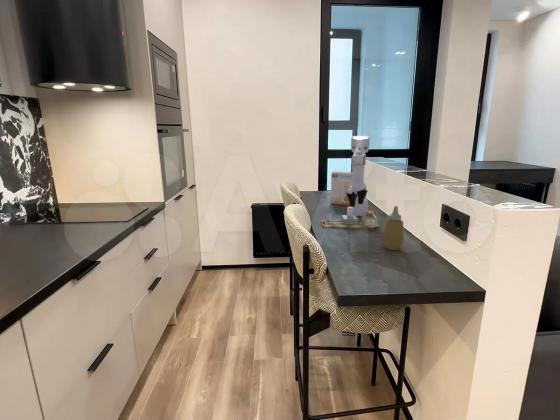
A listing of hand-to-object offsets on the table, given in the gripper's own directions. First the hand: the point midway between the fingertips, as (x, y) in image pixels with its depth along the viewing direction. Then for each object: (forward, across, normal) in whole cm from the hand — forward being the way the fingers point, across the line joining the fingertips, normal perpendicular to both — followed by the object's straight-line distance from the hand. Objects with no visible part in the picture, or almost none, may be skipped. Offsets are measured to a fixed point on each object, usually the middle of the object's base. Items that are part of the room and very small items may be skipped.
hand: (356, 205), depth 164 cm
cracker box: (+11, -32, -30) cm, 45 cm away
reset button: (+8, -5, +5) cm, 10 cm away
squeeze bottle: (+10, +18, +29) cm, 35 cm away
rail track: (+10, +2, -2) cm, 11 cm away
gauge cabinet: (+10, -5, +5) cm, 13 cm away
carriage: (+9, +2, -2) cm, 9 cm away
